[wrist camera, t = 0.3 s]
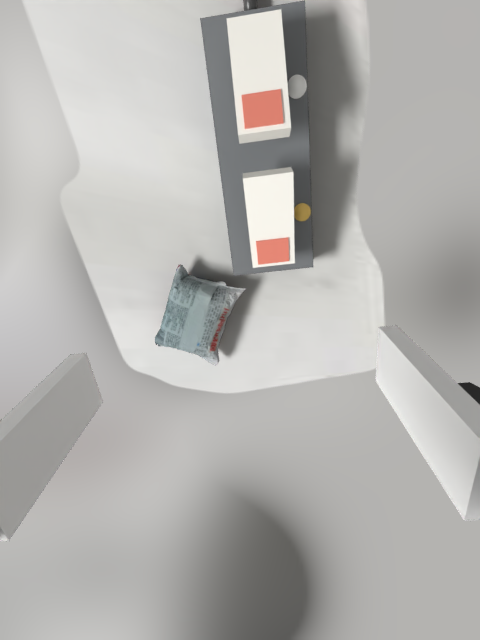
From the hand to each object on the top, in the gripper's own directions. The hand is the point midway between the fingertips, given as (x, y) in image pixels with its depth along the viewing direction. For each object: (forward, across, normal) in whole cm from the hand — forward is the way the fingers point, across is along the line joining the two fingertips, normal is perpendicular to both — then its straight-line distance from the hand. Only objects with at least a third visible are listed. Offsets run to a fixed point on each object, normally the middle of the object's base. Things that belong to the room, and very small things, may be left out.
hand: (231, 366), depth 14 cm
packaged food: (+27, -6, -7) cm, 29 cm away
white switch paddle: (+21, +3, +4) cm, 21 cm away
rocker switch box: (+27, +3, +11) cm, 29 cm away
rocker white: (+21, +3, +15) cm, 26 cm away
